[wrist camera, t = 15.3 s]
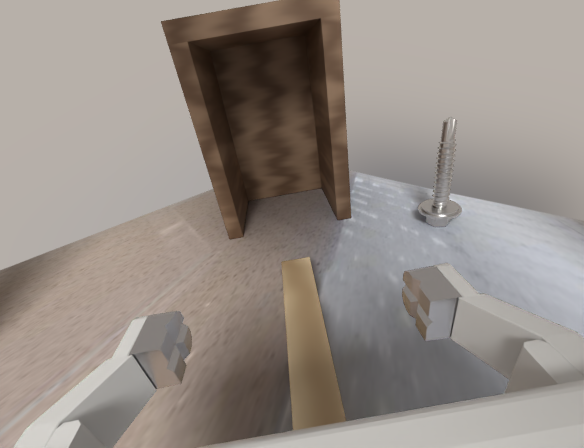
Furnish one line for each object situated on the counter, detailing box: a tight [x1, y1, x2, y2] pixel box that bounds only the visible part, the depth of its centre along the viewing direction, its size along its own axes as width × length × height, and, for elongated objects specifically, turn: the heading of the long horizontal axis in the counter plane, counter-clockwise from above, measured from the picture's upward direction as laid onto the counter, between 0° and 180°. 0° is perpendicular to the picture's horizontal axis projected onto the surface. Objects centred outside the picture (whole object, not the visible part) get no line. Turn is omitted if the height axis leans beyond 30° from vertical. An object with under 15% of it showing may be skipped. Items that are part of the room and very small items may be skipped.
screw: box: [418, 117, 462, 227], centre depth 32 cm, size 13×5×5 cm
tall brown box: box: [161, 0, 351, 239], centre depth 40 cm, size 18×15×26 cm
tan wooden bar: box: [282, 257, 346, 430], centre depth 19 cm, size 3×24×3 cm, turn 4°
